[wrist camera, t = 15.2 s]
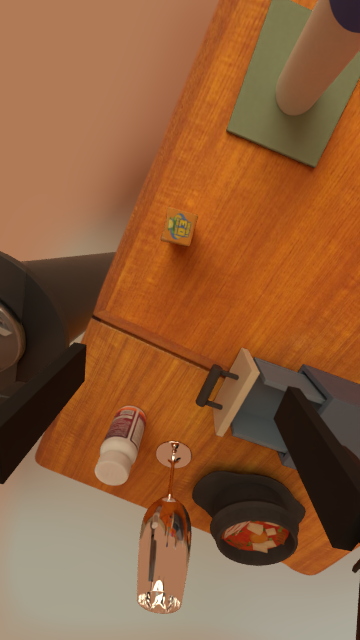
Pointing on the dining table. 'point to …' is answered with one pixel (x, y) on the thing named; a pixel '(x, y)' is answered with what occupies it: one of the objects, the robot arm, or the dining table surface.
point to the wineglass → (165, 542)
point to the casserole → (250, 516)
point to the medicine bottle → (319, 54)
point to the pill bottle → (121, 446)
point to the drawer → (254, 398)
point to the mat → (260, 92)
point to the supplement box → (179, 227)
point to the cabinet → (335, 409)
